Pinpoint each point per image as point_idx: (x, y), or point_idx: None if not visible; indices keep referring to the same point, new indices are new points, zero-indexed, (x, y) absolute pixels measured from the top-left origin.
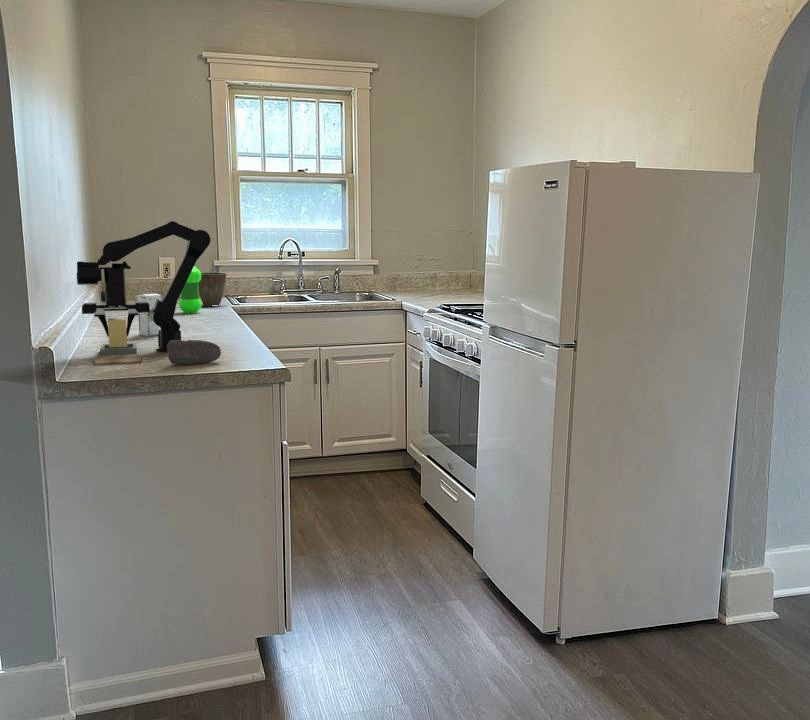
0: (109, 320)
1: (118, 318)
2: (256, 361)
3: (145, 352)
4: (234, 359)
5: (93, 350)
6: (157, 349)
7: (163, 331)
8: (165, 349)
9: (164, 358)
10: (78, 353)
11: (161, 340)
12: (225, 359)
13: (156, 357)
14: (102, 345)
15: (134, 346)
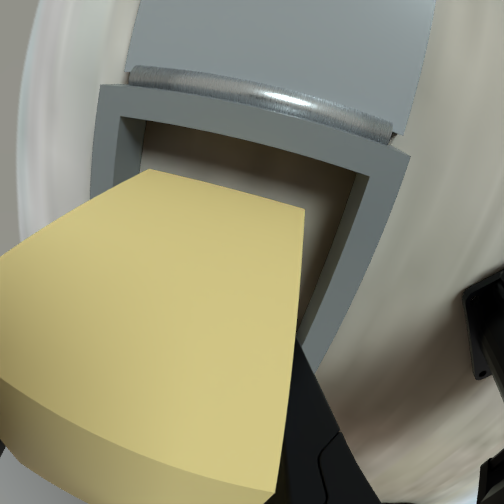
0: (33, 470)
1: (75, 437)
2: (476, 501)
3: (391, 306)
4: (475, 488)
5: (91, 34)
6: (467, 313)
7: (484, 470)
8: (481, 350)
9: (364, 456)
10: (21, 132)
11: (500, 370)
12: (465, 487)
13: (353, 437)
14: (100, 143)
15: (323, 328)
